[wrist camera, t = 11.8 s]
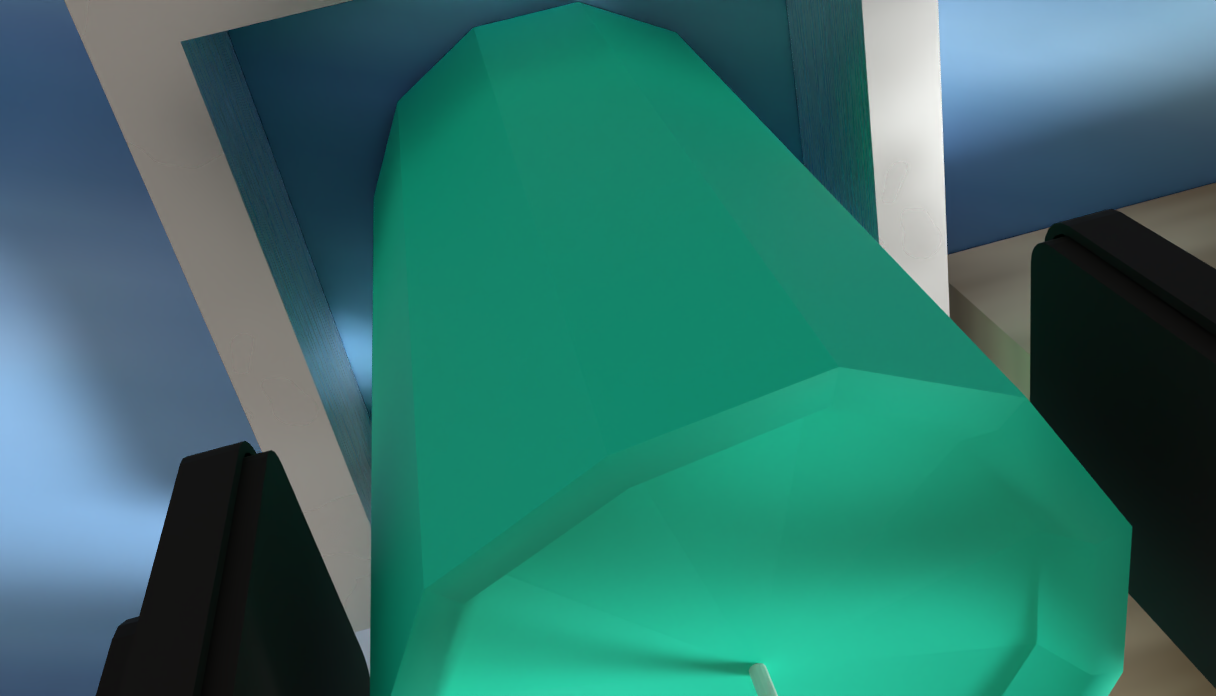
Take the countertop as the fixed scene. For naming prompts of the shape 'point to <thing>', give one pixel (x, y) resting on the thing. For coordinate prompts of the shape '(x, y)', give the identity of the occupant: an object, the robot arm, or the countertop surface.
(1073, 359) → the robot arm
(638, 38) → the candle
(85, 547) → the countertop surface
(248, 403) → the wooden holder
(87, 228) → the countertop surface
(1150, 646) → the wooden frame
